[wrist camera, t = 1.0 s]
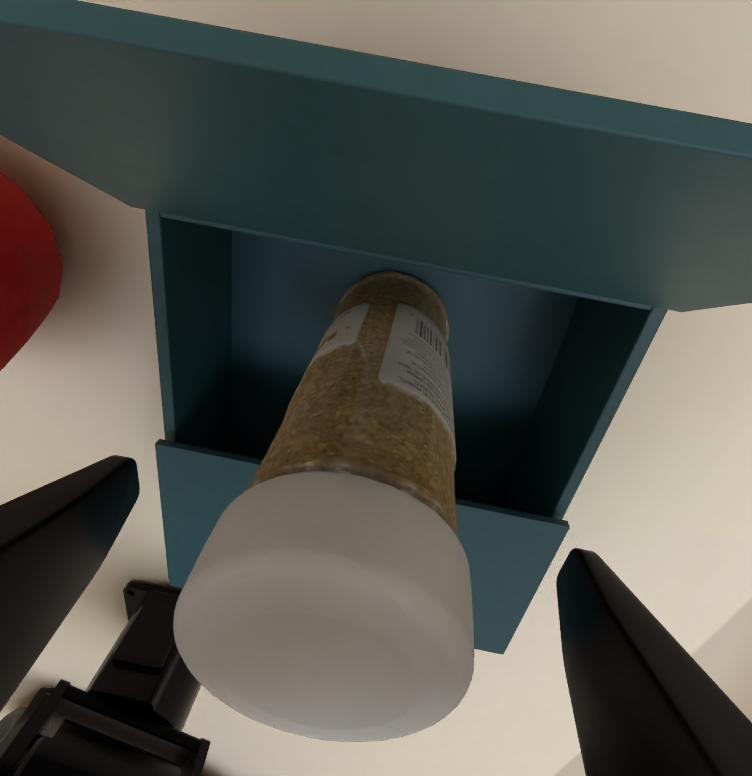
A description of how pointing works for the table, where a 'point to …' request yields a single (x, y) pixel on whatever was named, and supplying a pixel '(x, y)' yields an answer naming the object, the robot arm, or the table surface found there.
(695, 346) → the table surface
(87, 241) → the table surface
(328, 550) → the sprinkles bottle
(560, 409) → the box
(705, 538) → the table surface
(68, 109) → the panel
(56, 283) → the apple
